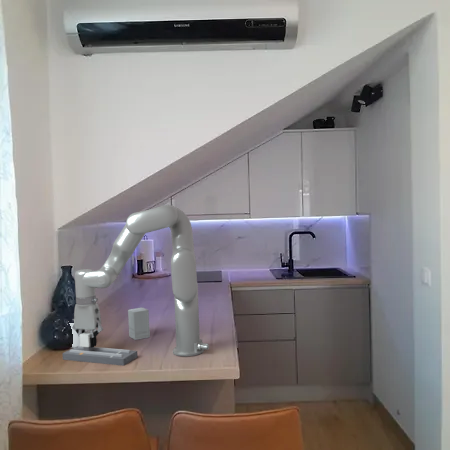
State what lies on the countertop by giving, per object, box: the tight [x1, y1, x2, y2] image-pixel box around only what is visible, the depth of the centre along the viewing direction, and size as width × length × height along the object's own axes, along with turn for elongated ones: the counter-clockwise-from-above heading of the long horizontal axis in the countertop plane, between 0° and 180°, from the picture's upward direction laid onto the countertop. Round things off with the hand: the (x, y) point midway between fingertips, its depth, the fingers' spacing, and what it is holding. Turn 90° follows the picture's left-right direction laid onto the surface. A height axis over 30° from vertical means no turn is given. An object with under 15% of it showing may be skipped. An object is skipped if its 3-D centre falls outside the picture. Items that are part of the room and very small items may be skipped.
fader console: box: [62, 346, 138, 366], centre depth 188 cm, size 28×10×3 cm, turn 69°
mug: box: [69, 323, 90, 349], centre depth 206 cm, size 9×12×11 cm
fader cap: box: [80, 330, 95, 351], centre depth 190 cm, size 4×5×7 cm
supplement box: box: [127, 307, 151, 341], centre depth 216 cm, size 7×7×13 cm
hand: (88, 345), depth 190 cm, fingers closed on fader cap, 4 cm apart
